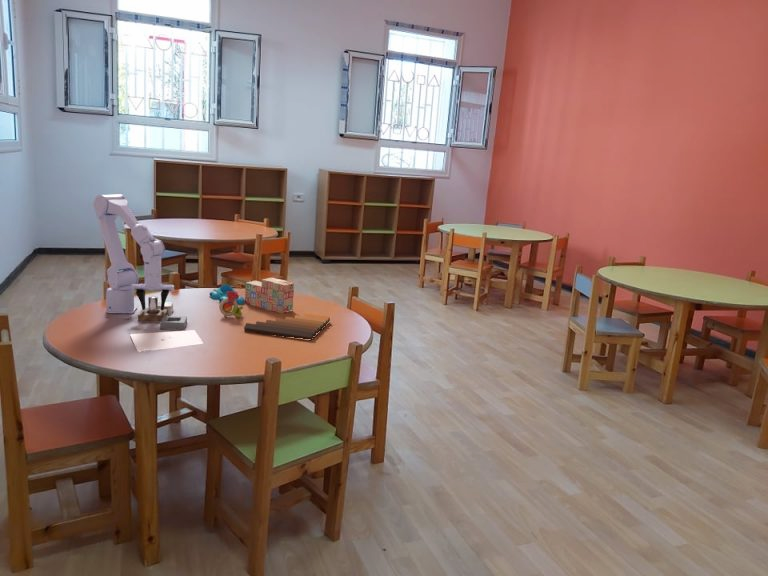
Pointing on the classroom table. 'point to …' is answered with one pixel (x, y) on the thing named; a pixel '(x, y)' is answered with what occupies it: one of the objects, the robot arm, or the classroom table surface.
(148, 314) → the socket block
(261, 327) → the pan flute
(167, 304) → the block
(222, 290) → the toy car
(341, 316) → the classroom table surface
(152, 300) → the steel peg
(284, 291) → the stack of blocks
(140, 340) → the paper sheet
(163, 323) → the block
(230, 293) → the bird rattle
